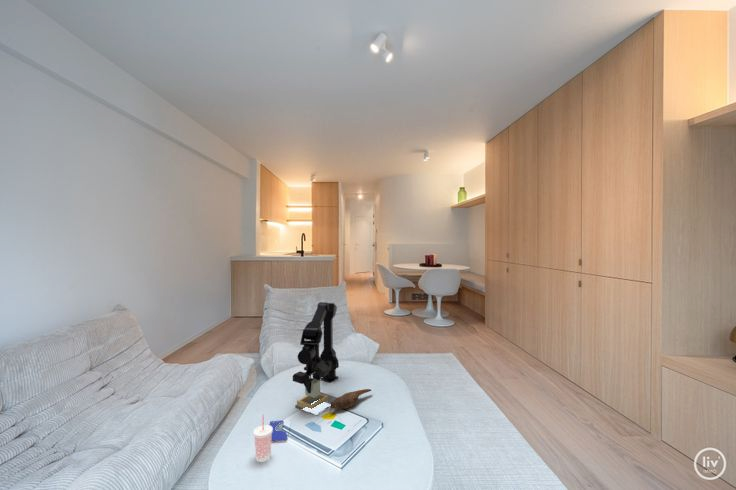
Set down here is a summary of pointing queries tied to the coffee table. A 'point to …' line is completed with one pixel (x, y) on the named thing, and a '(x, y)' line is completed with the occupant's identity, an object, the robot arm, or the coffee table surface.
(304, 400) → the socket dock
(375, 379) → the coffee table surface
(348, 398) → the bird sculpture
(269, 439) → the beverage cup
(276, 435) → the hard drive
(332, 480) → the coffee table surface
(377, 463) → the coffee table surface
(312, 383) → the block
